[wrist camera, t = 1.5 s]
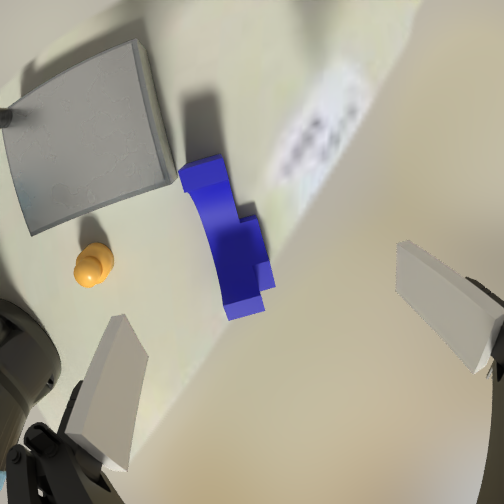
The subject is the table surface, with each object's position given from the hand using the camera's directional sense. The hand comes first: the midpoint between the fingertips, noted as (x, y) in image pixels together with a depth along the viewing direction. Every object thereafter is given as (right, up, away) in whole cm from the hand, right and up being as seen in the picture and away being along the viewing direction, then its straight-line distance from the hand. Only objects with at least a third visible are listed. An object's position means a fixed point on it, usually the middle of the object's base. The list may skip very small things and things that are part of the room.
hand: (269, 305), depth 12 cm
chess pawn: (-16, +2, +12) cm, 20 cm away
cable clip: (-3, +5, +13) cm, 14 cm away
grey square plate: (-15, +12, +8) cm, 21 cm away
